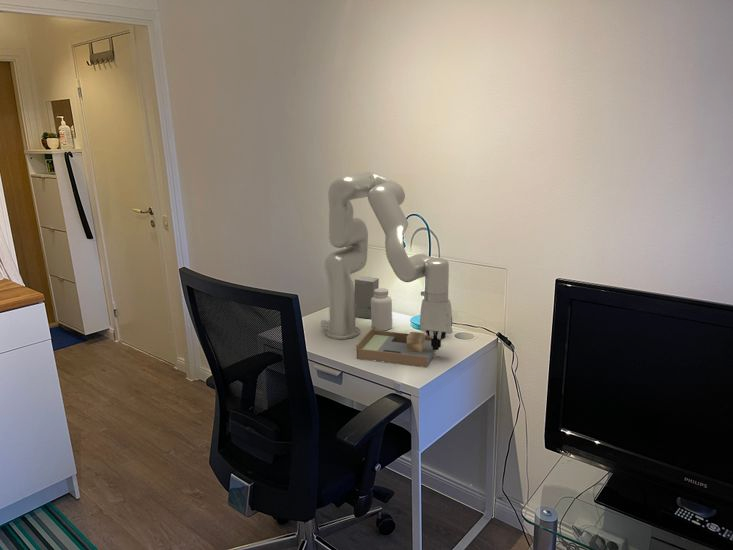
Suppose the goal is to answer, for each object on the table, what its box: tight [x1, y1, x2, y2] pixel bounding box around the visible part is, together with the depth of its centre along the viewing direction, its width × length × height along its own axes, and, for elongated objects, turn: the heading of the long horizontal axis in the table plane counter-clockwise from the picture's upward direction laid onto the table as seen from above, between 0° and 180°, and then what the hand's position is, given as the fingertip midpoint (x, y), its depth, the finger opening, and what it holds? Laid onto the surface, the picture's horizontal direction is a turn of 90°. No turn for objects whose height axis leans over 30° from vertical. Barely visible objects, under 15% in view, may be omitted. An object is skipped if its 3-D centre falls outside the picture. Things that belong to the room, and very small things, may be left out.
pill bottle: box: [370, 287, 393, 331], centre depth 214 cm, size 8×8×15 cm
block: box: [407, 331, 426, 352], centre depth 189 cm, size 5×5×5 cm
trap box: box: [355, 326, 437, 368], centre depth 192 cm, size 24×18×5 cm
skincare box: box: [354, 275, 380, 320], centre depth 227 cm, size 8×7×16 cm
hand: (436, 348), depth 187 cm, fingers closed
